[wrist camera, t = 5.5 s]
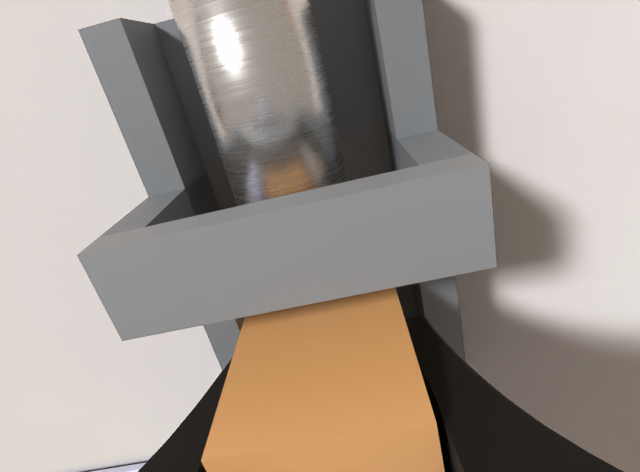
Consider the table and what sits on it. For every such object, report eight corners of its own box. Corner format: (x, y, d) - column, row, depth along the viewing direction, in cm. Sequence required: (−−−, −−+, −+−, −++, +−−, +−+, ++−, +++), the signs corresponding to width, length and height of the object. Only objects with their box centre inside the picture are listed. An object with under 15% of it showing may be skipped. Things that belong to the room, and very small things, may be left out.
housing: (457, 369, 16) (525, 529, 11) (262, 402, 17) (233, 568, 12) (403, -42, 11) (487, -143, 5) (120, 37, 12) (-65, 21, 6)
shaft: (361, 171, 12) (376, 217, 9) (241, 199, 12) (211, 252, 9) (300, -131, 9) (287, -236, 6) (149, -84, 9) (55, -158, 6)
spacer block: (406, 361, 14) (460, 567, 8) (289, 382, 14) (267, 591, 9) (385, 255, 12) (436, 423, 7) (255, 282, 12) (200, 460, 7)
